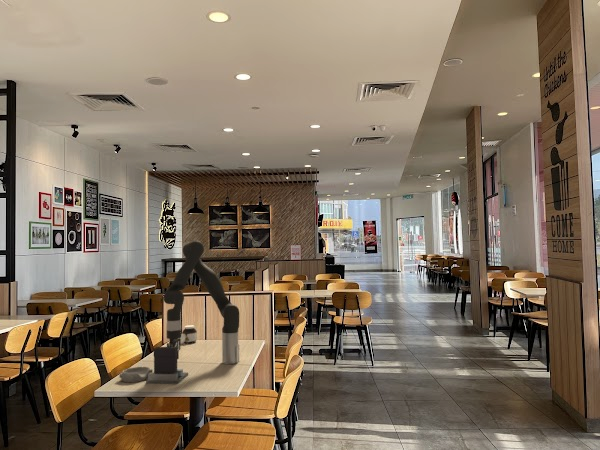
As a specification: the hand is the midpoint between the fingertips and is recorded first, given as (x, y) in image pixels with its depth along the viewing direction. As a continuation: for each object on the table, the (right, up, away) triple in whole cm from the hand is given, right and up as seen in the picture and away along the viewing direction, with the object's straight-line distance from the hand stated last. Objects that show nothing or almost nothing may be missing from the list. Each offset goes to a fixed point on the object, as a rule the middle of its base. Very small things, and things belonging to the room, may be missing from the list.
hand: (173, 360), depth 253 cm
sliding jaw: (0, -5, -4) cm, 7 cm away
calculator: (-1, -5, -12) cm, 13 cm away
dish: (-18, -8, -8) cm, 21 cm away
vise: (-1, -7, -9) cm, 11 cm away
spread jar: (-13, -12, +86) cm, 88 cm away
